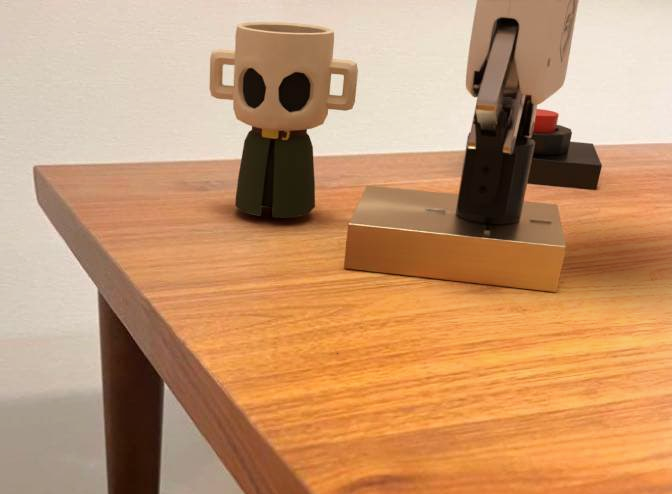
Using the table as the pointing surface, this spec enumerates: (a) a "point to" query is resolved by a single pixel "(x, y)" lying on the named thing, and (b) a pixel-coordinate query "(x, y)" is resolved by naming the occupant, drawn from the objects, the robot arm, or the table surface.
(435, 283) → the table surface
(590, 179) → the button box
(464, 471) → the table surface
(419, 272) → the panel
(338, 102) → the character mug
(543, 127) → the button
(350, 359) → the table surface
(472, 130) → the robot arm
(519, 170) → the knob
